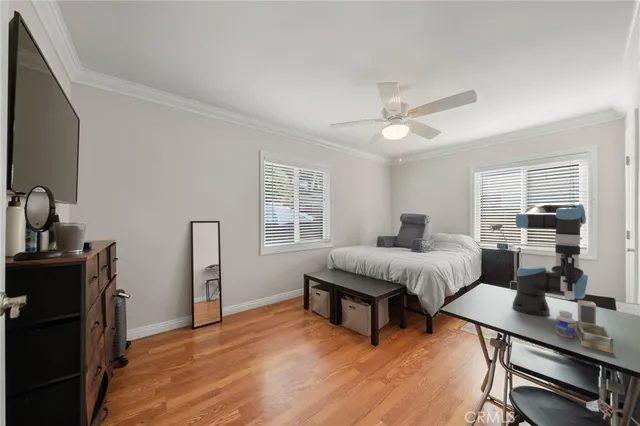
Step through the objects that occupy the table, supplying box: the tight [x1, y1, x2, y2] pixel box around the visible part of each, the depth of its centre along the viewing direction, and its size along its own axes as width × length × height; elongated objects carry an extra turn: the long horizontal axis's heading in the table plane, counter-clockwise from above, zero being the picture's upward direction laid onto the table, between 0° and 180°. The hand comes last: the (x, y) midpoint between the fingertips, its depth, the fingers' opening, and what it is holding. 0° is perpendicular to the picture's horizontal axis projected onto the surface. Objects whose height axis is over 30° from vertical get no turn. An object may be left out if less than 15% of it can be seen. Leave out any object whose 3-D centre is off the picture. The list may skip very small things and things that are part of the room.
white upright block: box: [577, 299, 597, 325], centre depth 112 cm, size 5×6×10 cm
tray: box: [574, 320, 614, 354], centre depth 105 cm, size 8×25×5 cm, turn 141°
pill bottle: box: [555, 310, 575, 339], centre depth 107 cm, size 5×5×10 cm
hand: (566, 295), depth 107 cm, fingers open, 13 cm apart
